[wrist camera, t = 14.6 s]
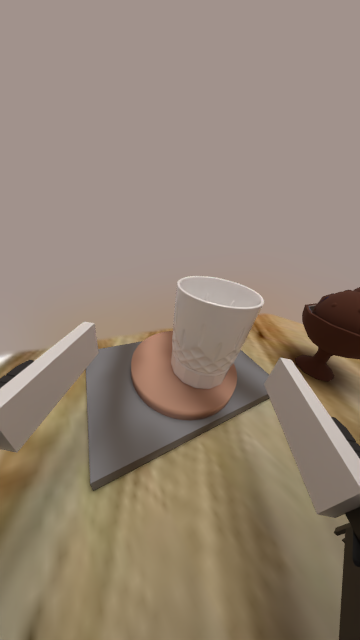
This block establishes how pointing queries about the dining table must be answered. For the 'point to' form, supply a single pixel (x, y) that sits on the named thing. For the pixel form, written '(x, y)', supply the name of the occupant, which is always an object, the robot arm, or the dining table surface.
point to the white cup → (210, 328)
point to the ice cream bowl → (331, 332)
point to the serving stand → (155, 404)
